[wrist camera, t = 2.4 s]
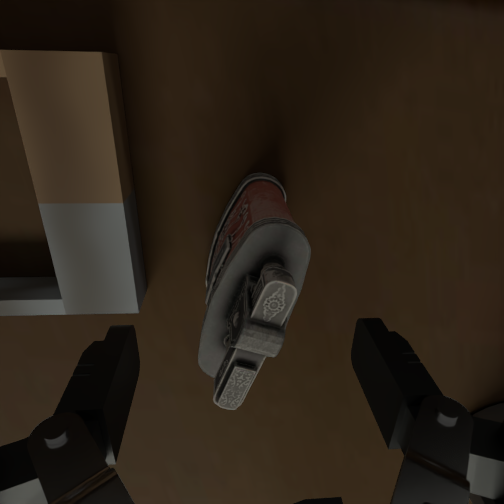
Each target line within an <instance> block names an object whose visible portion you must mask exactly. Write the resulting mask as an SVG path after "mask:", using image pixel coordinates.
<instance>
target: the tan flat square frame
mask: <svg viewBox="0 0 504 504" xmlns="http://www.w3.org/2000/svg"><path fill="white" fill-rule="evenodd" d="M0 77H7V80H8V84H9V88H10V92H11V96H12V100H13V104H14V108H15V112H16V116H17V120H18V124H19V128H20V132H21V136H22V140H23V144H24V148H25V152H26V156H27V160H28V164H29V168H30V172H31V176H32V180H33V184H34V188H35V193H36V197H37V201H38V205H39V209H40V213H41V217H42V221H43V225H44V229H45V233H46V237H47V241H48V245H49V249H50V253H51V257H52V261H53V265H54V269H55V273H56V277H5V278H0V316H16V315H65V314H113V313H139V311H140V308H141V305H142V302H143V300H144V297H145V294H146V291H147V284H146V276H145V268H144V260H143V252H142V244H141V236H140V228H139V220H138V212H137V205H136V197H135V189H134V181H133V173H132V165H131V157H130V149H129V141H128V133H127V125H126V117H125V109H124V101H123V94H122V86H121V78H120V70H119V62H118V54H114V53H105V52H78V51H33V50H0Z"/></svg>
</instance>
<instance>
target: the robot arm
mask: <svg viewBox="0 0 504 504" xmlns="http://www.w3.org/2000/svg"><path fill="white" fill-rule="evenodd" d="M351 360H352V365H353V368H354V371H355V373H356V375H357V378H358V380H359V382H360V385H361V387H362V389H363V392H364V394H365V396H366V398H367V401H368V403H369V405H370V408H371V410H372V412H373V415H374V417H375V419H376V422H377V424H378V426H379V429H380V431H381V433H382V435H383V438H384V440H385V442H386V445H387V447H388V449H399V448H401V450H402V452H403V454H404V459H403V462H402V465H401V469H400V472H399V475H398V479H397V482H396V485H395V489H394V492H393V495H392V499H391V502H390V504H469V498H470V500H471V502H472V503H473V504H504V403H500V404H497V405H494V406H491V407H488V408H485V409H483V410H481V411H479V412H477V413H475V414H474V415H472V416H471V414H470V413H469V411H468V410H467V409H466V408H465V407H464V406H463V405H462V404H460V403H459V402H457V401H456V400H454V399H452V398H449V397H446V396H444V395H443V394H442V392H441V391H440V389H439V388H438V386H437V385H436V383H435V382H434V380H433V379H432V377H431V376H430V374H429V373H428V371H427V370H426V368H425V367H424V365H423V364H422V363H421V362H420V359H419V358H418V356H417V355H416V354H415V353H414V350H413V349H412V347H411V346H410V344H409V343H408V341H407V340H405V339H404V338H403V337H402V336H400V335H399V334H398V333H397V332H395V331H393V332H389V331H388V329H387V328H386V326H385V325H384V323H383V321H382V320H381V319H380V318H359V319H358V320H357V323H356V328H355V333H354V339H353V344H352V350H351ZM139 370H140V358H139V352H138V345H137V339H136V333H135V328H134V326H133V325H117V326H110V328H109V330H108V333H107V335H106V337H105V340H104V341H94V342H93V343H92V344H91V345H90V346H89V347H88V348H87V349H86V350H85V351H84V352H83V353H82V356H81V358H80V360H79V362H78V366H76V368H75V370H74V372H73V377H71V379H70V381H69V383H68V385H67V387H66V389H65V391H64V394H63V396H62V398H61V400H60V402H59V404H58V406H57V408H56V410H55V413H54V414H53V416H51V417H49V418H47V419H45V420H44V421H42V422H41V423H40V424H38V425H37V426H36V427H35V428H34V430H33V431H32V432H31V434H30V436H29V437H27V438H25V439H22V440H19V441H16V442H13V443H10V444H7V445H4V446H1V447H0V504H135V503H134V502H133V500H132V498H131V496H130V495H129V493H128V491H127V489H126V488H125V486H124V484H123V482H122V481H121V479H120V477H119V475H118V474H117V472H116V471H115V469H114V468H111V469H110V467H109V466H108V464H116V461H117V457H118V453H119V449H120V446H121V442H122V438H123V434H124V430H125V426H126V423H127V419H128V415H129V411H130V407H131V403H132V400H133V396H134V392H135V388H136V384H137V381H138V377H139ZM294 504H343V502H342V499H341V497H334V498H319V499H305V500H302V501H299V502H297V503H294Z"/></svg>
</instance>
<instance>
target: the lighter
mask: <svg viewBox="0 0 504 504" xmlns="http://www.w3.org/2000/svg"><path fill="white" fill-rule="evenodd" d="M310 249H311V248H310V246H309V243H308V241H307V238H306V236H305V234H304V232H303V231H302V230H301V228H300V227H299V226H298V225H297V224H295V223H294V221H293V218H292V216H291V214H290V211H289V209H288V207H287V204H286V194H285V191H284V189H283V187H282V184H281V183H280V182H279V181H278V180H277V179H276V178H275V177H273V176H271V175H269V174H265V173H254V174H251V175H249V176H247V177H246V178H245V179H244V180H243V181H242V182H241V183H240V185H239V187H238V188H237V190H236V191H235V193H234V195H233V196H232V198H231V199H230V201H229V203H228V204H227V206H226V209H225V211H224V213H223V215H222V217H221V219H220V222H219V224H218V226H217V228H216V231H215V235H214V238H213V242H212V245H211V249H210V253H209V260H208V266H207V273H206V287H207V290H206V301H205V303H206V305H207V309H206V312H205V316H204V319H203V325H202V331H201V338H200V345H199V353H198V362H199V366H200V367H201V369H202V370H203V371H204V372H205V373H206V374H208V375H209V376H211V377H213V378H215V379H214V395H213V400H214V403H215V404H217V405H218V406H219V407H221V408H225V409H230V410H234V409H236V408H237V407H238V406H240V405H241V404H242V402H243V400H244V399H245V397H246V395H247V393H248V391H249V389H250V387H251V385H252V383H253V381H254V379H255V377H256V375H257V373H258V371H259V369H260V367H261V365H262V363H263V361H264V360H265V358H266V356H268V357H276V356H277V355H278V353H279V351H280V349H281V347H282V345H283V341H284V338H285V329H286V325H287V322H288V320H289V317H290V315H291V313H292V310H293V308H294V305H295V303H296V301H297V298H298V296H299V294H300V291H301V288H302V285H303V281H304V277H305V274H306V270H307V267H308V263H309V260H310Z"/></svg>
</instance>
